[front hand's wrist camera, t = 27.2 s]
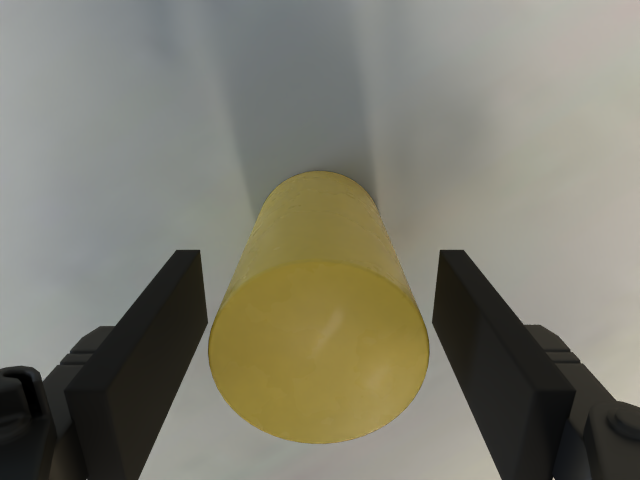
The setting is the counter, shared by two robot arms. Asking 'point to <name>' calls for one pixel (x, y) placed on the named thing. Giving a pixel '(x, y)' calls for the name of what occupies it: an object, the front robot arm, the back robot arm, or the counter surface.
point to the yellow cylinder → (318, 318)
